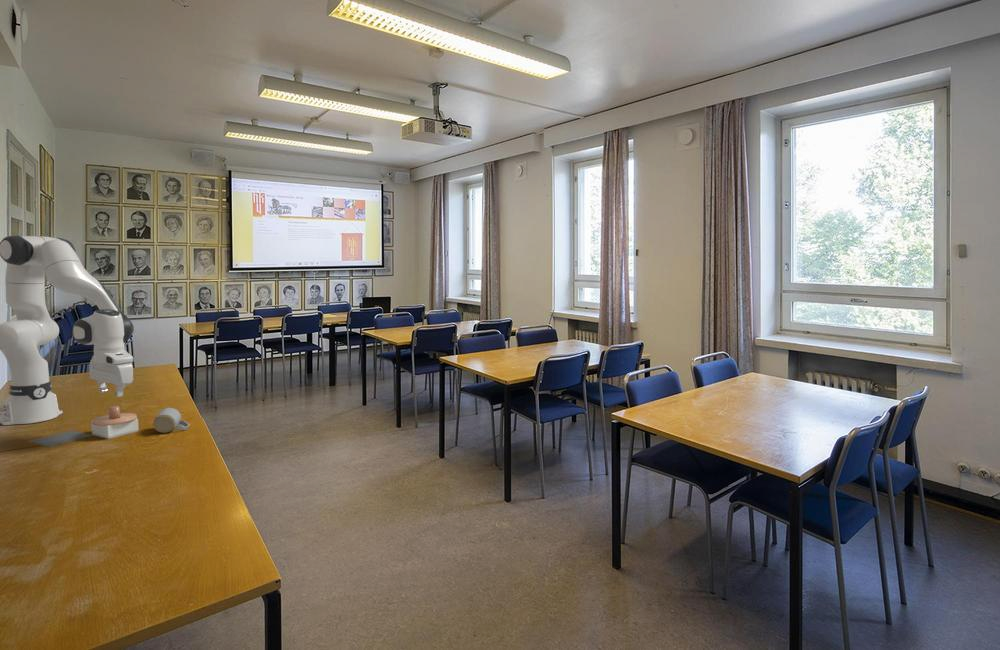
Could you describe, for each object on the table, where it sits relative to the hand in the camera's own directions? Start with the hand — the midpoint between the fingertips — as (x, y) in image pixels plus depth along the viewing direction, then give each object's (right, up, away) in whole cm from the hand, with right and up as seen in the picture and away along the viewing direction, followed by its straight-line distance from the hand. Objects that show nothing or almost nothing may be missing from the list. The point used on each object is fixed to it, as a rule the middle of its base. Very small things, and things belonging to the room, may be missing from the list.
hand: (111, 394), depth 188 cm
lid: (0, -9, +1) cm, 10 cm away
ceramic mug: (+17, -14, +7) cm, 23 cm away
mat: (-14, -15, -5) cm, 21 cm away
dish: (0, -14, +2) cm, 15 cm away
